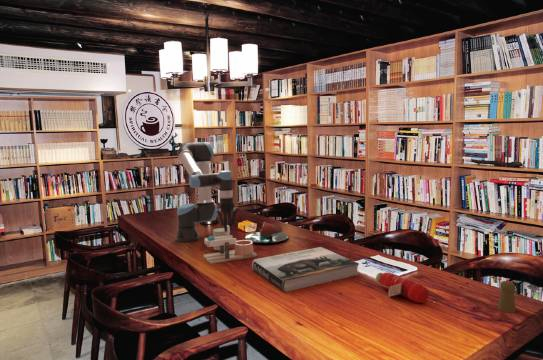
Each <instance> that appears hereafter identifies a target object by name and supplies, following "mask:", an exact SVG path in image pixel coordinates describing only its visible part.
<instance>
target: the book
mask: <svg viewBox="0 0 543 360" xmlns="http://www.w3.org/2000/svg"><path fill="white" fill-rule="evenodd" d="M251 262H252V263H251V267H252V270H253V271H254V272H255V273H257V274H258V275H260V276H261V277H262V278H264V279H265V280H267V281H268V282H269V283H271V284H272V285H274V286H275V287H276V288H278V289H279V290H281V291H282V292H284V293H286V292H290V291H294V290H298V289H299V290H300V289H304V288H308V287H311V286H316V284H317V285H320V284H321V285H322V284H325V283H329V282H333V280H334V281H337V280H341V279H346V278H350V276H351V277H354V275H355V276H358V275H359V272H358V267H359V265H360V263H359V262H356V261H355V260H352V259H350V258H347V257H345V256H342V255H340V254H338V253H336V252H333V251H332V250H328V249H327V248H324V247H322V246H319V247H314V248H308V249H303V250H297V251H291V252H286V253H281V254H277V255H270V256H266V257H265V256H264V257H261V258H255V259H253V261H251Z"/></svg>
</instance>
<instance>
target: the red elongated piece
mask: <svg viewBox="0 0 543 360" xmlns="http://www.w3.org/2000/svg"><path fill="white" fill-rule="evenodd" d="M375 280H376V282H377V283H378V286H380V287H382V288H383V289H384V290H387V291H388V298H389V297H390V298H394V297H397V296H401V297H404V298H405V299H407V300H410V301H412V302H414V303H416V304H423V303H425V302H427V300H428V299H429V290H428V288H426V286H425V285H423V284H421V283H419V282H417V281H413V280H409V279H407V278H406V279H405V278H403V277H401V276H399V275H397V274H395V273H392V272H378V273H377V274H376V275H375Z"/></svg>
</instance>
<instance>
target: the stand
mask: <svg viewBox="0 0 543 360" xmlns="http://www.w3.org/2000/svg"><path fill="white" fill-rule="evenodd" d="M202 256H203V257H202V258H204V259H205V261H207V262H208V263H209V265H213V264H219V263H225V262H231V261H238V260H239V261H240V260H245V259H251V258H257V257H258V254H257V253H256V252H254V251H253V253H252V254H250V255H236V254H235V251H234V249H232V250H231V249H230V245H229V242H226V243H225V250H224V245H221V246H220V250H219V251H218V252H210V253H205V254H202ZM244 258H245V259H244Z"/></svg>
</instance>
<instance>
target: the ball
mask: <svg viewBox="0 0 543 360" xmlns="http://www.w3.org/2000/svg"><path fill="white" fill-rule="evenodd" d="M207 238H208V240H209V241H214V240H215V238H214V237H213V235H210V236H208V237H207Z"/></svg>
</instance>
